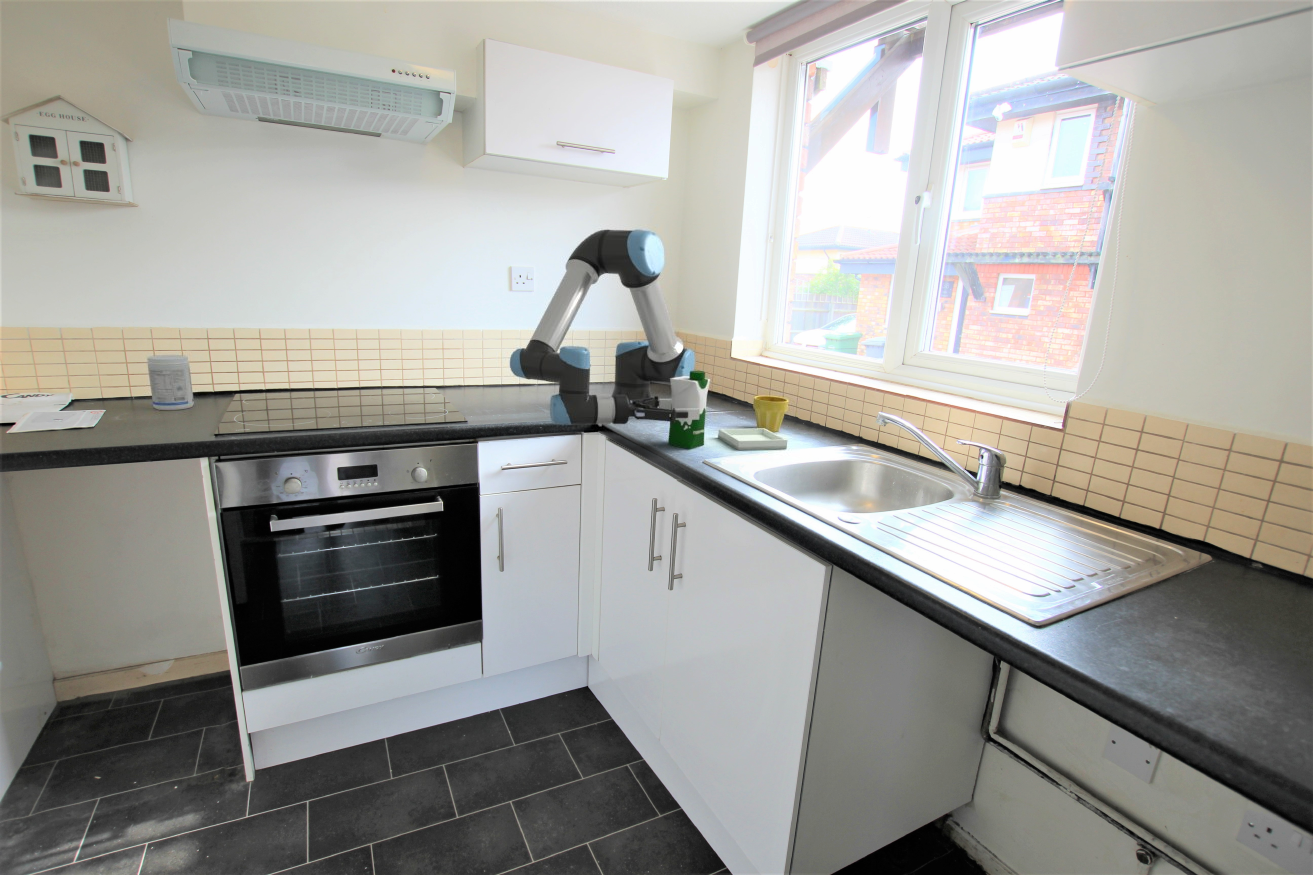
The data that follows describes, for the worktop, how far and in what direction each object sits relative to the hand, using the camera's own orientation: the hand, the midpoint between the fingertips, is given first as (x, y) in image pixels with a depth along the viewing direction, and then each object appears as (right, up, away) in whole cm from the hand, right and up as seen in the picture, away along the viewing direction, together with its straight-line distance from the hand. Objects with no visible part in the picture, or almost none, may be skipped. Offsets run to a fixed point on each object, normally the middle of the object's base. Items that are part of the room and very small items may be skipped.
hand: (690, 408), depth 173 cm
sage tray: (+17, -9, +8) cm, 21 cm away
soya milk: (-1, -10, +3) cm, 10 cm away
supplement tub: (-148, +1, +15) cm, 148 cm away
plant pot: (+25, -5, +27) cm, 37 cm away
